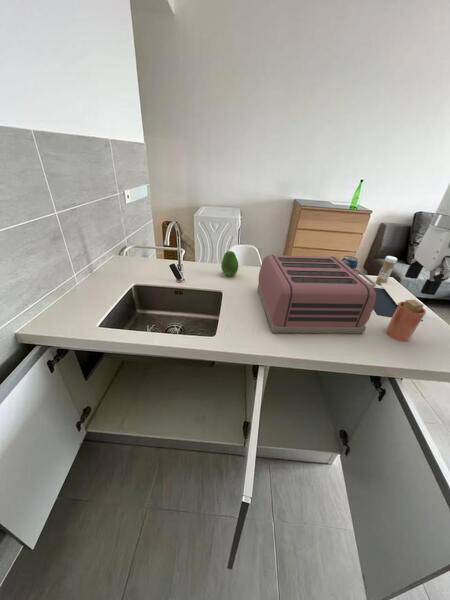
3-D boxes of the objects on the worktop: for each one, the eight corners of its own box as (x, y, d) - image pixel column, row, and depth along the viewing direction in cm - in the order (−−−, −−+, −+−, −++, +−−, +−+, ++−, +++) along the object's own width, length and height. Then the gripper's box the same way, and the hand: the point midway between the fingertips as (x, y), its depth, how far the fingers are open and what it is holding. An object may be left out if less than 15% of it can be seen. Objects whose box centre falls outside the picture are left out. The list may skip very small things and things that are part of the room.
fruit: (235, 280, 112) (237, 255, 106) (219, 277, 114) (220, 253, 108) (238, 273, 119) (241, 249, 113) (223, 270, 120) (224, 247, 114)
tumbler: (404, 329, 86) (418, 303, 80) (414, 343, 80) (430, 315, 74) (382, 326, 87) (394, 300, 81) (390, 339, 81) (404, 312, 75)
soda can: (340, 285, 113) (348, 261, 107) (332, 278, 119) (339, 255, 113) (353, 284, 114) (362, 260, 108) (344, 278, 120) (352, 255, 114)
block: (410, 308, 80) (414, 299, 78) (418, 314, 77) (423, 305, 75) (401, 308, 80) (405, 300, 78) (409, 314, 77) (414, 305, 75)
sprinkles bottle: (373, 281, 118) (383, 255, 111) (380, 281, 119) (391, 255, 112) (380, 286, 114) (391, 259, 107) (388, 285, 115) (400, 259, 108)
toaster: (376, 334, 82) (397, 290, 73) (270, 334, 80) (279, 288, 71) (336, 291, 108) (349, 254, 99) (255, 289, 106) (260, 251, 97)
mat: (396, 291, 111) (397, 290, 111) (422, 321, 91) (423, 320, 91) (359, 286, 113) (360, 285, 113) (377, 315, 93) (377, 314, 93)
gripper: (494, 234, 51) (451, 303, 60) (447, 216, 65) (418, 274, 74) (454, 230, 52) (418, 299, 61) (417, 214, 66) (392, 271, 75)
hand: (418, 285), depth 67 cm, fingers open, 9 cm apart
